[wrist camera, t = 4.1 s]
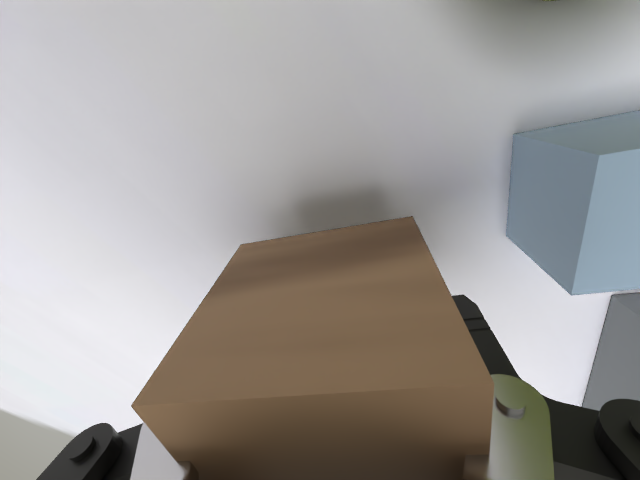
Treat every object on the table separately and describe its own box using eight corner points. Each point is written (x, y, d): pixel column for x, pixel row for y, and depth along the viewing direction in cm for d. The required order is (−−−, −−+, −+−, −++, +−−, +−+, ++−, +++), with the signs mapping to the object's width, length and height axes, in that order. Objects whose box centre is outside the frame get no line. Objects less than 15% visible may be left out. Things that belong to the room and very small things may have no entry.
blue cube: (512, 133, 13) (599, 155, 8) (645, 108, 12) (821, 117, 7) (505, 235, 15) (571, 295, 10) (617, 220, 14) (741, 278, 10)
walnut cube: (241, 244, 10) (131, 406, 5) (412, 216, 9) (495, 383, 4) (286, 359, 13) (243, 544, 8) (423, 347, 12) (483, 552, 7)
